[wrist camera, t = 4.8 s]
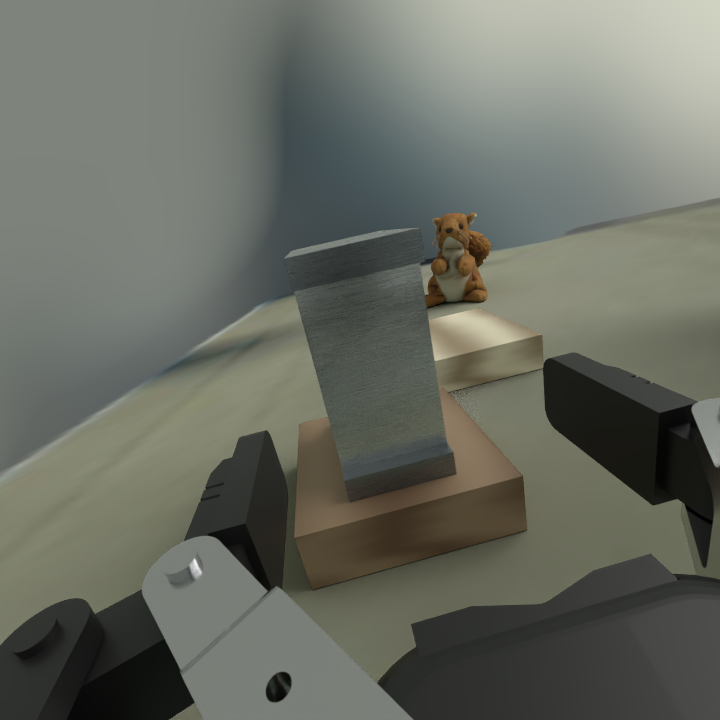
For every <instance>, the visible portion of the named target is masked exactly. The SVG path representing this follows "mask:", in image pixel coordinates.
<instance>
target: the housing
mask: <svg viewBox="0 0 720 720" xmlns="http://www.w3.org/2000/svg"><path fill="white" fill-rule="evenodd" d="M284 261H285V265H286V269H287V272H288V276H289V280H290V284H291V287H292V291H293V292H294V293H295V296H296V300H297V304H298V307H299V311H300V315H301V319H302V322H303V326H304V330H305V333H306V337H307V341H308V345H309V348H310V352H311V356H312V359H313V363H314V367H315V370H316V374H317V378H318V382H319V385H320V389H321V393H322V396H323V400H324V404H325V408H326V411H327V415H328V419H329V422H330V426H331V430H332V433H333V437H334V441H335V445H336V448H337V452H338V456H339V459H340V463H341V467H342V471H343V478H344V483H345V486H346V490H347V494H348V498H349V501H350V503H351V502H354V501H358V500H362V499H366V498H369V497H373V496H377V495H381V494H384V493H388V492H392V491H396V490H399V489H403V488H407V487H410V486H414V485H418V484H422V483H425V482H429V481H433V480H437V479H440V478H444V477H448V476H452V475H455V474H457V473H456V466H455V459H454V452H453V451H452V449H451V448H450V446H449V445H448V443H447V438H446V432H445V425H444V419H443V412H442V406H441V399H440V393H439V386H438V379H437V373H436V366H435V360H434V353H433V347H432V340H431V334H430V327H429V320H428V314H427V307H426V301H425V294H424V288H423V281H422V275H421V268H420V262H425V256H424V249H423V243H422V235H421V229H420V228H410V229H396V230H384V231H377V232H373V233H369V234H364V235H360V236H355V237H351V238H346V239H342V240H337V241H333V242H329V243H324V244H320V245H315V246H311V247H306V248H302V249H298V250H293V251H291V252H290V253H289V254H288V255H287V256H286V257H285V258H284Z"/></svg>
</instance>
